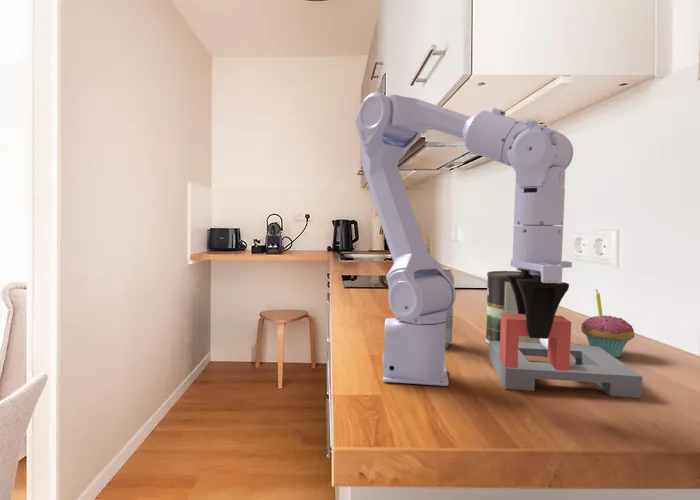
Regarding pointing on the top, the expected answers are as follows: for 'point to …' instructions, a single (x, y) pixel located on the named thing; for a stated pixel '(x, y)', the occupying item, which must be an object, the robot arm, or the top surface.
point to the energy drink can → (449, 312)
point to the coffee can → (501, 304)
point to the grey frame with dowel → (582, 367)
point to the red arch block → (518, 327)
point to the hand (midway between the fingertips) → (533, 333)
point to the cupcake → (607, 331)
